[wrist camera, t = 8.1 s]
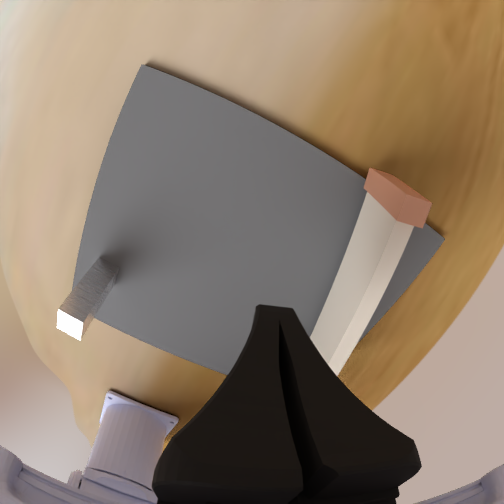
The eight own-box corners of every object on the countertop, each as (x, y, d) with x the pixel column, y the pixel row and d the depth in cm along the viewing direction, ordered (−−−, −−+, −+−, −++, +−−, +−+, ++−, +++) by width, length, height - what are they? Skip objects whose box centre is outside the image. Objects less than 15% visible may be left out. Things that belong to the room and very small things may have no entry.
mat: (299, 394, 25) (299, 397, 25) (72, 301, 21) (70, 304, 21) (442, 236, 18) (445, 239, 17) (144, 64, 13) (141, 64, 13)
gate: (320, 347, 21) (330, 397, 17) (302, 345, 21) (309, 396, 17) (391, 174, 15) (432, 203, 11) (369, 167, 15) (406, 194, 11)
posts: (307, 363, 23) (315, 425, 18) (96, 273, 19) (56, 329, 14) (321, 347, 22) (334, 412, 17) (102, 251, 19) (58, 306, 13)
